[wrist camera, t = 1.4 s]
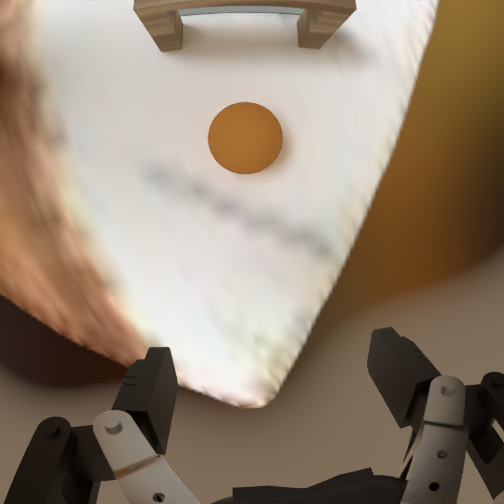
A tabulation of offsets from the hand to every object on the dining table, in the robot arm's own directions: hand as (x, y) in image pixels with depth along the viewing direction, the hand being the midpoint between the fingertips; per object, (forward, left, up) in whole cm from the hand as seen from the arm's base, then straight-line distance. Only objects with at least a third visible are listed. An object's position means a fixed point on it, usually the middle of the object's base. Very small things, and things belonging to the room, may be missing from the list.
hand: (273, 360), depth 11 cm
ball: (0, +9, -16) cm, 18 cm away
